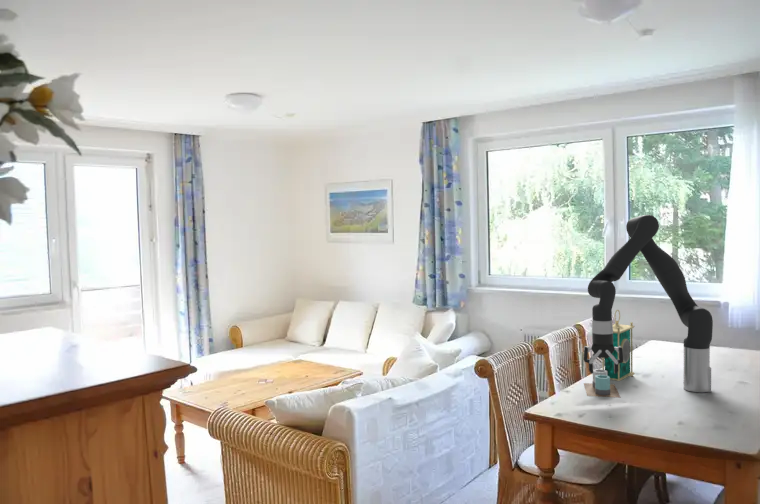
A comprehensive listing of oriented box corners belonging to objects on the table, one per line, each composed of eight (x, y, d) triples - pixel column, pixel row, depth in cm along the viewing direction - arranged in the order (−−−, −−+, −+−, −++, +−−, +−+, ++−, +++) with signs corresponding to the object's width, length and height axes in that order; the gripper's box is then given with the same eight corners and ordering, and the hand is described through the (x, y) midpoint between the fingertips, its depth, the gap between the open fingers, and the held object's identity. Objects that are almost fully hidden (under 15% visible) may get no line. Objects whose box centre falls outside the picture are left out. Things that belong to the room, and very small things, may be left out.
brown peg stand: (614, 388, 243) (614, 372, 242) (620, 401, 225) (620, 384, 225) (583, 386, 246) (583, 371, 245) (587, 399, 228) (587, 383, 228)
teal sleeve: (609, 391, 233) (609, 375, 233) (610, 395, 228) (610, 378, 227) (594, 390, 234) (594, 374, 234) (595, 394, 229) (595, 378, 229)
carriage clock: (620, 384, 247) (620, 313, 246) (599, 381, 253) (598, 311, 252) (635, 376, 260) (635, 307, 258) (614, 373, 266) (614, 306, 264)
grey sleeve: (603, 384, 243) (602, 368, 242) (609, 388, 238) (609, 372, 237) (590, 385, 242) (590, 369, 242) (597, 389, 237) (597, 373, 236)
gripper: (620, 329, 231) (621, 371, 232) (582, 329, 235) (583, 370, 236) (623, 333, 224) (624, 376, 225) (583, 333, 228) (585, 375, 228)
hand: (603, 373), depth 230 cm, fingers open, 8 cm apart
